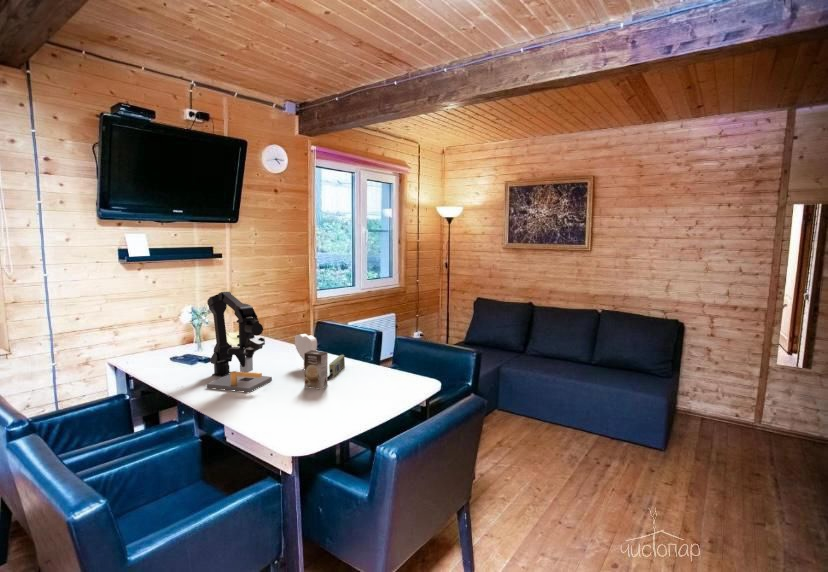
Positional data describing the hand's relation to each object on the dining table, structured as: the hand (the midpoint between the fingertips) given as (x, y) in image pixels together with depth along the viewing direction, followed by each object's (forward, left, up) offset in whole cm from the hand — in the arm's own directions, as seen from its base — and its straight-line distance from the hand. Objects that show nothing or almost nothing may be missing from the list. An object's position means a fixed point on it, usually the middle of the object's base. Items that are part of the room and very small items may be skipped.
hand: (246, 365), depth 208 cm
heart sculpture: (+14, +31, -9) cm, 35 cm away
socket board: (-2, -2, -9) cm, 9 cm away
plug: (0, 0, -3) cm, 3 cm away
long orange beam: (+6, -8, -6) cm, 12 cm away
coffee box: (+33, +6, -9) cm, 35 cm away
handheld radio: (+32, +29, -9) cm, 44 cm away
